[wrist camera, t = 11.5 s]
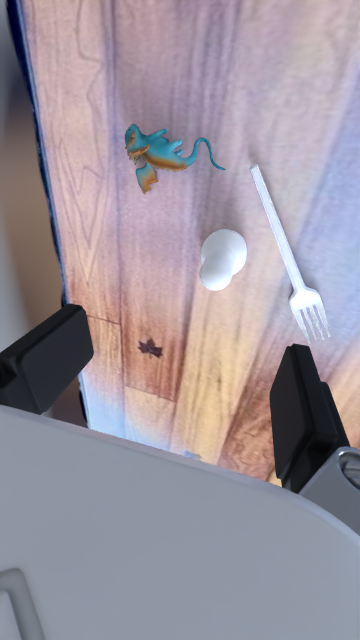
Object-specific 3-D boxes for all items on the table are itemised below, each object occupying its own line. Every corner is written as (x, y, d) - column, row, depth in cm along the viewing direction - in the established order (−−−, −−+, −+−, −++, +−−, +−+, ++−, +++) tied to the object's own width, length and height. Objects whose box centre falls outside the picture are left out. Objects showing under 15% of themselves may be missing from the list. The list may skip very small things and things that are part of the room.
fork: (270, 154, 22) (271, 153, 20) (331, 328, 28) (335, 336, 27) (236, 176, 23) (235, 175, 22) (302, 335, 30) (305, 344, 28)
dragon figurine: (197, 59, 19) (106, 101, 19) (232, 143, 19) (140, 184, 19) (195, 126, 26) (127, 156, 26) (221, 188, 25) (152, 218, 26)
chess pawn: (246, 225, 25) (244, 246, 18) (247, 271, 27) (245, 306, 20) (200, 231, 27) (180, 251, 19) (204, 273, 29) (188, 307, 21)
